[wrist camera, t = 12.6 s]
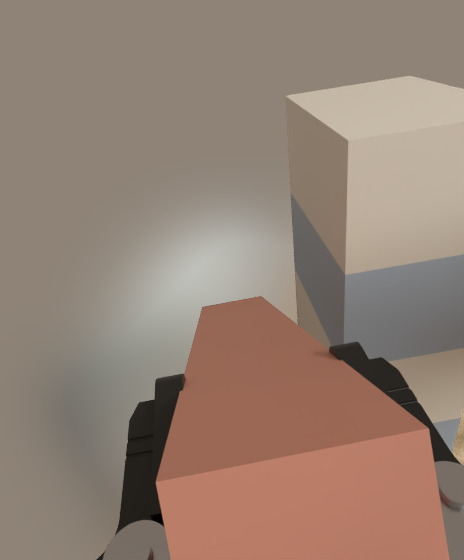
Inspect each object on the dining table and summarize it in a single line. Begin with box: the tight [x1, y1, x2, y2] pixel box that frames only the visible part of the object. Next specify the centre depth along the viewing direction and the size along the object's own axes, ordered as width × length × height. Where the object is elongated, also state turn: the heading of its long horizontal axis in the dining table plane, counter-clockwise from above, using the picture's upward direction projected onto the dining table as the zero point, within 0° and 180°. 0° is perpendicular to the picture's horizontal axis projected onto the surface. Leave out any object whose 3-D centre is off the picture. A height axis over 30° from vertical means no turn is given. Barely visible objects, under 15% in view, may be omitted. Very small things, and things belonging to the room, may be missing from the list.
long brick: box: [156, 296, 450, 560], centre depth 17 cm, size 22×4×4 cm, turn 7°
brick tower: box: [286, 76, 464, 453], centre depth 35 cm, size 14×10×32 cm
